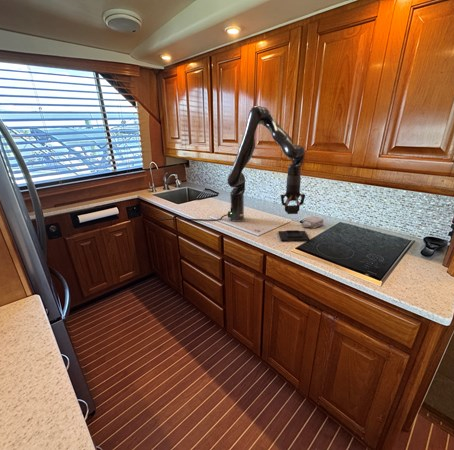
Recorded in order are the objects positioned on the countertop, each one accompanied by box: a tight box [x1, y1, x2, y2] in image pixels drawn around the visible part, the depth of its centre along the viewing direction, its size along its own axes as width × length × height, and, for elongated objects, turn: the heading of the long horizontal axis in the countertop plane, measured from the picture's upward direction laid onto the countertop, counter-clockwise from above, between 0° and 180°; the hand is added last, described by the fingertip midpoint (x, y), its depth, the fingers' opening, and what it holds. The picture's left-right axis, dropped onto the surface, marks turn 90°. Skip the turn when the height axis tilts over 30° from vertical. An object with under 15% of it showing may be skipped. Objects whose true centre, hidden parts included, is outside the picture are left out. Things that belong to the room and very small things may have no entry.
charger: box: [301, 215, 324, 229], centre depth 155 cm, size 5×9×15 cm
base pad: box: [278, 229, 311, 242], centre depth 141 cm, size 16×12×2 cm
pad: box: [286, 204, 299, 215], centre depth 138 cm, size 6×6×4 cm
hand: (291, 211), depth 138 cm, fingers closed on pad, 5 cm apart
